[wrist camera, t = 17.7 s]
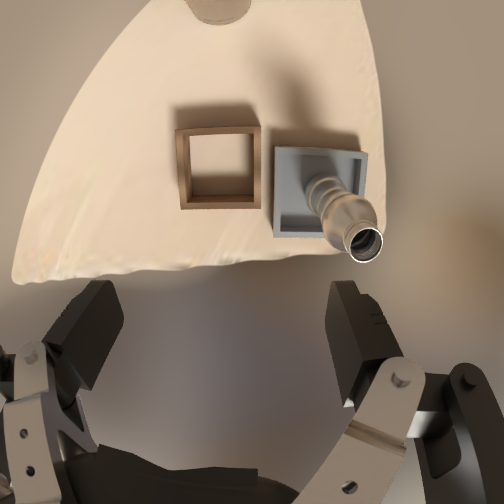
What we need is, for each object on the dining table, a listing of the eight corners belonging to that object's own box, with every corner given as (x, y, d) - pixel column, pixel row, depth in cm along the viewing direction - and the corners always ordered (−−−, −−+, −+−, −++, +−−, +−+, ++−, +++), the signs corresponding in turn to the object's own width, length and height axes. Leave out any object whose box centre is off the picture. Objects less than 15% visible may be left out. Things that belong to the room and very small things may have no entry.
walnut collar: (182, 129, 39) (175, 130, 35) (260, 126, 38) (261, 126, 35) (187, 202, 44) (180, 209, 40) (260, 201, 44) (260, 208, 40)
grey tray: (274, 145, 40) (275, 147, 37) (361, 151, 39) (368, 153, 37) (272, 230, 46) (273, 237, 43) (352, 231, 46) (358, 238, 43)
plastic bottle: (299, 208, 43) (325, 273, 26) (306, 167, 40) (344, 205, 23) (336, 214, 44) (383, 279, 26) (345, 174, 41) (404, 218, 23)
